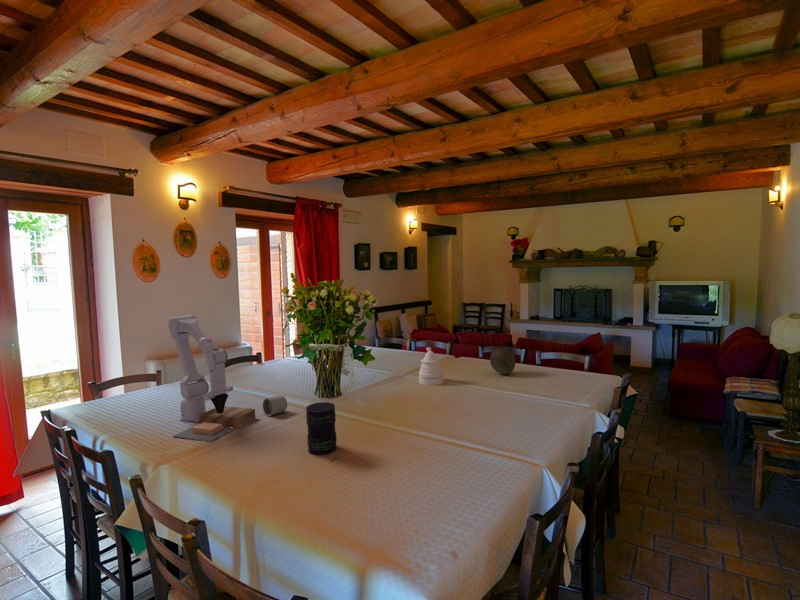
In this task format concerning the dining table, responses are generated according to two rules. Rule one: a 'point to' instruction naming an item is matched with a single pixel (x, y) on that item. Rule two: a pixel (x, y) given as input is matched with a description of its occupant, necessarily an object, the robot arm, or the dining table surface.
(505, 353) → the dark brown round vase
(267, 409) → the grey cylinder
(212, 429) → the salmon pink panel
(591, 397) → the dining table surface
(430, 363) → the honey pot
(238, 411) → the deck
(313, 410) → the storage jar
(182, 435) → the mat
